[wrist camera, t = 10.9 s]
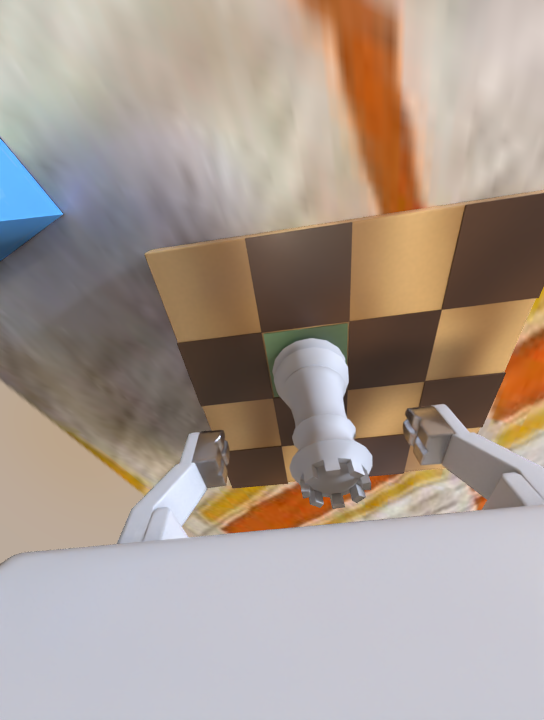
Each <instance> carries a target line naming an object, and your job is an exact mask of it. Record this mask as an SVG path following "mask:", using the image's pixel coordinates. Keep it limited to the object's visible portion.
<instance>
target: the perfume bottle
mask: <svg viewBox="0 0 544 720" xmlns="http://www.w3.org/2000/svg"><path fill="white" fill-rule="evenodd" d="M62 215H63V213H62V212H61V211H60V210H59V208H58V207H57V206H56V205H55V204H54V202H53V201H52V200H51V199H50V198H49V196H48V195H47V194H46V193H45V192H44V190H43V189H42V188H41V187H40V185H39V184H38V183H37V182H36V181H35V179H34V178H33V177H32V176H31V175H30V173H29V172H28V171H27V170H26V169H25V167H24V166H23V165H22V164H21V163H20V161H19V160H18V159H17V158H16V157H15V155H14V154H13V153H12V152H11V151H10V149H9V148H8V147H7V146H6V145H5V143H4V142H3V141H2V140H1V139H0V261H1V260H3V259H4V258H5V257H7V256H8V255H9V254H11V253H12V252H13V251H15V250H16V249H17V248H19V247H20V246H21V245H23V244H24V243H25V242H27V241H28V240H29V239H31V238H32V237H34V236H35V235H36V234H38V233H39V232H40V231H42V230H43V229H44V228H46V227H47V226H48V225H50V224H51V223H52V222H54V221H55V220H56V219H58V218H59V217H60V216H62Z"/></svg>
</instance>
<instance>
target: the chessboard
mask: <svg viewBox="0 0 544 720" xmlns="http://www.w3.org/2000/svg"><path fill="white" fill-rule="evenodd" d="M145 257H146V260H147V263H148V265H149V268H150V270H151V273H152V276H153V278H154V281H155V284H156V286H157V289H158V291H159V294H160V297H161V299H162V302H163V305H164V307H165V310H166V312H167V315H168V318H169V320H170V323H171V326H172V328H173V331H174V333H175V336H176V339H177V341H178V343H177V345H178V347H179V350H180V353H181V355H182V358H183V360H184V363H185V366H186V368H187V371H188V374H189V376H190V379H191V381H192V384H193V387H194V389H195V392H196V394H197V397H198V400H199V402H200V405H201V406H202V407H203V410H204V412H205V415H206V417H207V420H208V423H209V425H210V428H211V431H214V430H224V433H225V440H226V441H227V442H228V444H229V449H230V460H229V463H228V465H227V466H226V467H227V470H228V478H229V480H230V483H231V485H232V488H242V487H254V486H265V485H277V484H288V482H295V481H296V480H295V479H294V478H292V475H291V472H290V469H289V467H290V464H291V461H292V458H293V456H294V455H295V454H296V453H297V451H298V449H297V448H296V447H295V446H294V443H293V439H292V436H293V433H294V430H295V428H296V427H295V421H294V417H293V414H292V410H291V409H290V408H289V406H288V405H287V404H286V403H285V402H284V401H283V400H282V398H281V397H280V396H279V395H278V393H277V391H276V387H275V383H274V376H273V372H272V371H273V366H274V362H275V359H276V358H277V356H278V355H279V354H280V352H281V351H282V350H283V349H284V348H285V347H287V346H289V345H290V344H292V343H294V342H296V341H299V340H304V339H310V338H314V339H320V340H327V341H328V342H330V343H332V344H333V345H335V346H337V347H338V348H339V349H340V351H341V352H342V354H343V355H344V357H345V362H346V365H347V366H348V376H349V383H348V385H347V388H346V392H345V395H344V397H343V402H344V409H345V413H346V416H347V419H349V420H350V421H351V422H352V423H353V425H354V426H355V428H356V437H355V439H354V441H356V442H358V443H360V444H361V445H363V446H365V447H366V448H367V449H368V451H369V452H370V453H371V455H372V468H371V470H370V472H369V475H368V476H379V475H391V474H402V473H404V472H408V471H420V470H431V469H442V468H445V467H444V466H442V464H434V465H420V463H419V462H418V460H417V458H416V457H415V455H414V453H413V449H414V447H413V446H411V445H410V444H408V443H407V441H406V439H405V436H404V434H403V422H404V421H405V420H406V419H407V417H406V416H405V412H406V410H407V408H414V407H422V406H431V405H438V404H445V405H446V406H447V407H448V408H449V409H450V410H451V411H452V412H453V414H454V415H455V416H456V417H457V418H458V419H459V421H460V422H461V423H462V424H463V425H464V426H465V427H466V429H467V430H468V431H469V432H470V433H471V432H474V433H476V434H478V432H479V429H480V427H483V424H484V422H485V420H486V417H487V415H488V413H489V411H490V408H491V406H492V404H493V401H494V399H495V397H496V395H497V392H498V390H499V388H500V385H501V383H502V381H503V378H504V376H505V374H506V373H505V372H504V371H505V369H506V366H507V364H508V362H509V359H510V357H511V355H512V352H513V350H514V348H515V345H516V343H517V341H518V338H519V336H520V334H521V331H522V329H523V327H524V324H525V322H526V320H527V317H528V315H529V313H530V311H531V308H532V306H533V304H534V301H535V299H536V298H539V296H540V293H541V291H542V289H543V287H544V190H541V191H534V192H527V193H521V194H514V195H508V196H501V197H495V198H488V199H481V200H475V201H468V202H462V203H455V204H449V205H442V206H435V207H429V208H422V209H416V210H409V211H403V212H396V213H389V214H383V215H376V216H370V217H363V218H357V219H350V220H344V221H337V222H330V223H324V224H317V225H311V226H304V227H298V228H291V229H284V230H278V231H271V232H265V233H258V234H252V235H245V236H238V237H232V238H225V239H219V240H212V241H206V242H199V243H192V244H186V245H179V246H173V247H166V248H160V249H153V250H150V251H148V252H146V253H145Z"/></svg>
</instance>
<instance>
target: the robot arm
mask: <svg viewBox="0 0 544 720" xmlns="http://www.w3.org/2000/svg"><path fill="white" fill-rule="evenodd" d="M405 416H406V417H407V419H406V420H405V421H404V422H403V434H404V436H405V439H406V441H407V443H408V444H410V445H411V446H413V447H414V449H413V453H414V455H415V457H416V458H417V460H418V462H419V463H420V465H434V464H442V466H444V467H445V468H446V469H448V470H449V471H450V472H452V473H453V474H454V475H456V476H457V477H458V478H460V479H461V480H462V481H463V482H465V483H466V484H467V485H469V486H470V487H471V488H473V489H474V490H475V491H477V492H478V493H479V494H481V495H482V496H483V497H484V498H486V499H487V502H486V503H485V505H484V507H483V509H482V510H477V511H466V512H456V513H445V514H434V515H423V516H413V517H402V518H391V519H380V520H370V521H359V522H348V523H337V524H327V525H316V526H306V527H295V528H284V529H274V530H263V531H252V532H241V533H231V534H220V535H209V536H199V537H188V536H187V534H186V533H185V531H184V530H183V528H182V526H183V524H184V523H185V521H186V520H187V518H188V517H189V515H190V514H191V512H192V511H193V509H194V508H195V507H196V505H197V504H198V502H199V501H200V499H201V498H202V496H203V495H204V493H205V492H206V490H207V488H211V487H219V486H226V483H227V475H228V470H227V467H226V466H227V465H228V463H229V460H230V449H229V444H228V442H227V441H226V440H225V433H224V430H214V431H203V432H194V433H190V434H189V435H188V437H187V440H186V443H185V446H184V450H183V453H182V456H181V459H180V462H179V464H176V465H175V466H174V467H173V468H172V469H171V470H170V471H169V472H168V473H167V474H166V475H165V476H164V477H163V478H162V479H161V480H160V481H159V482H158V483H157V484H156V485H155V486H154V487H153V488H152V489H151V490H150V491H149V492H148V493H147V494H146V495H145V496H144V497H143V498H142V499H141V500H140V501H139V502H138V503H137V504H136V505H135V506H134V507H133V508H132V510H131V512H130V514H129V516H128V519H127V521H126V524H125V526H124V528H123V531H122V533H121V535H120V538H119V540H118V543H117V544H113V545H101V546H91V547H79V548H69V549H58V550H47V551H35V552H25V553H19V554H16V555H13V556H12V557H10V558H8V559H7V560H5V561H4V562H2V563H1V564H0V720H544V467H542V466H540V465H538V464H536V463H534V462H532V461H530V460H528V459H526V458H524V457H522V456H520V455H518V454H516V453H514V452H512V451H510V450H508V449H506V448H504V447H502V446H500V445H498V444H496V443H494V442H492V441H490V440H488V439H486V438H484V437H482V436H480V435H478V434H476V433H474V432H471V433H470V432H469V431H468V430H467V429H466V427H465V426H464V425H463V424H462V423H461V422H460V421H459V419H458V418H457V417H456V416H455V415H454V414H453V412H452V411H451V410H450V409H449V408H448V407H447V406H446V405H445V404H438V405H431V406H422V407H414V408H407V410H406V412H405Z"/></svg>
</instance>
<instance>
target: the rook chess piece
mask: <svg viewBox="0 0 544 720" xmlns="http://www.w3.org/2000/svg"><path fill="white" fill-rule="evenodd" d="M272 372H273V376H274V383H275V387H276V391H277V393H278V395H279V396H280V397H281V398H282V400H283V401H284V402H285V403H286V404H287V405H288V406H289V408H290V409H291V410H292V414H293V417H294V421H295V427H296V428H295V430H294V433H293V436H292V439H293V443H294V446H295V447H296V448H297V449H298V451H297V453H296V454H295V455H294V456H293V458H292V461H291V464H290V467H289V469H290V472H291V475H292V478H294V479H295V480H296V481H297V482H298V483H299V484H300V485H301V491H302V495H303V498H307V497H309V500H310V504H311V505H314V506H317V507H321V506H322V505H323V504H324V503H323V497H330V499H331V504H332V509H335V508H343V507H345V504H344V500H343V495H346V494H348V493H350V494H351V497H352V501H354V502H356V503H358V502H359V501H361V500H362V499H364V498H365V497H366V496H365V493H364V490H371V481H370V478H369V476H368V475H369V472H370V470H371V468H372V455H371V453H370V452H369V451H368V449H367V448H366V447H365V446H363V445H361V444H360V443H358V442H356V441H354V439H355V437H356V428H355V426H354V425H353V423H352V422H351V421H350V420H349V419H347V416H346V413H345V409H344V402H343V397H344V395H345V392H346V388H347V385H348V383H349V376H348V366H347V365H346V362H345V357H344V355H343V354H342V352H341V351H340V349H339V348H338V347H337V346H335V345H333V344H332V343H330V342H328V341H327V340H320V339H314V338H310V339H304V340H299V341H296V342H294V343H292V344H290V345H289V346H287V347H285V348H284V349H283V350H282V351H281V352H280V354H279V355H278V356H277V358H276V359H275V362H274V366H273V371H272Z"/></svg>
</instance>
